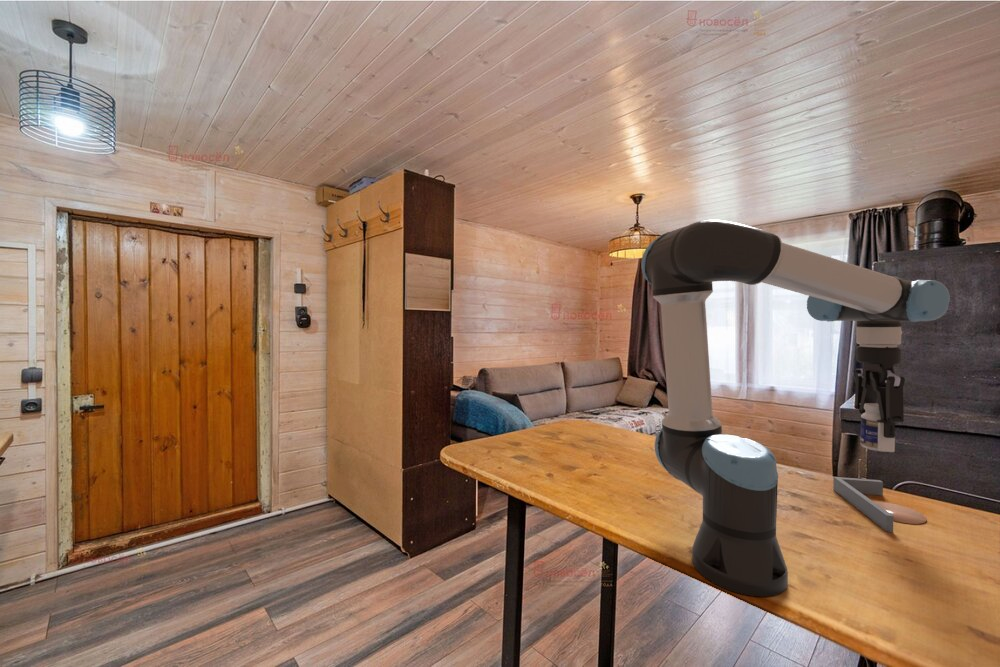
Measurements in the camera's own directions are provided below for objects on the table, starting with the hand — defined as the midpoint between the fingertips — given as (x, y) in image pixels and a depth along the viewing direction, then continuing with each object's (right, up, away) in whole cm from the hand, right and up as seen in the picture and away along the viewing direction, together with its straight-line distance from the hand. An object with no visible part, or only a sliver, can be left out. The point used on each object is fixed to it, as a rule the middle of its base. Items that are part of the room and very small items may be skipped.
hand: (876, 446), depth 94 cm
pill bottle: (0, -1, 0) cm, 1 cm away
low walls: (+4, -16, +3) cm, 17 cm away
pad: (+6, -16, +2) cm, 17 cm away
